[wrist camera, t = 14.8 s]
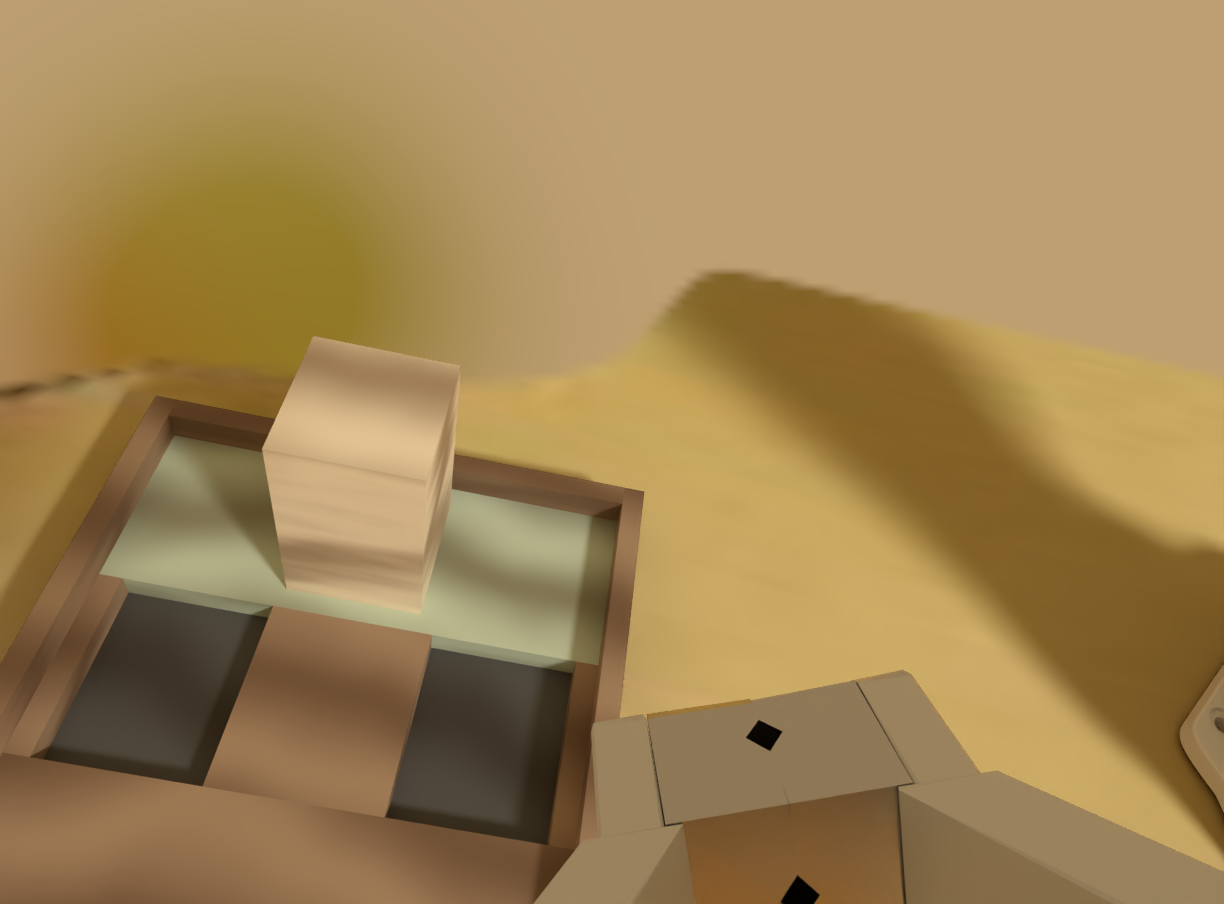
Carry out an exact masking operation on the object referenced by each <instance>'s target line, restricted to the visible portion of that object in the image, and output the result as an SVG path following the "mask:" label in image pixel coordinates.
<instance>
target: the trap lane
mask: <svg viewBox="0 0 1224 904" xmlns="http://www.w3.org/2000/svg"><path fill="white" fill-rule="evenodd" d="M274 422H275V419H272V418H266V417H261V416H256V415H251V414H246V413H241V412H236V411H231V410H226V409H221V408H215V407H210V406H205V405H200V404H195V403H190V402H185V401H180V400H175V399H170V398H164V397H159V396H156V397H155V398H154V400H153V402H152V404H151V405H150V407H149V409H148V411H147V412H146V414H145V416H144V417H143V419H142V421H141V423H140V424H139V426H138V428H137V430H136V431H135V433H134V435H133V436H132V438H131V440H130V442H129V443H128V445H127V447H126V449H125V450H124V452H123V454H122V455H121V457H120V459H119V461H118V462H117V464H116V466H115V468H114V469H113V471H112V473H111V474H110V476H109V478H108V480H107V481H106V483H105V485H104V487H103V488H102V490H101V492H100V493H99V495H98V497H97V499H96V500H95V502H94V504H93V506H92V507H91V509H90V511H89V512H88V514H87V516H86V518H85V519H84V521H83V523H82V525H81V526H80V528H79V530H78V532H77V533H76V535H75V537H74V538H73V540H72V542H71V544H70V545H69V547H68V549H67V551H66V552H65V554H64V556H63V557H62V559H61V561H60V563H59V564H58V566H57V568H56V570H55V571H54V573H53V575H52V576H51V578H50V580H49V582H48V583H47V585H46V587H45V589H44V590H43V592H42V594H41V595H40V597H39V599H38V601H37V602H36V604H35V606H34V608H33V609H32V611H31V613H30V614H29V616H28V618H27V620H26V621H25V623H24V625H23V627H22V628H21V630H20V632H19V633H18V635H17V637H16V639H15V640H14V642H13V644H12V646H11V647H10V649H9V651H8V652H7V654H6V656H5V658H4V659H3V661H2V663H1V665H0V904H534V902H535V901H536V900H537V898H538V897H539V896H540V895H541V893H542V892H543V891H544V889H545V888H546V887H547V886H548V884H549V883H550V882H551V880H552V879H553V878H554V876H555V875H556V874H557V873H558V871H559V870H560V869H561V867H562V866H563V865H564V864H565V862H566V861H567V860H568V858H569V857H570V856H571V855H572V853H573V852H574V851H575V849H576V848H577V847H578V846H579V844H580V843H581V842H582V841H585V840H590V839H596V838H598V832H597V816H596V801H595V785H594V770H593V754H592V738H591V730H592V726H593V723H597V722H602V721H608V720H613V719H619V717H620V708H621V699H622V689H623V680H624V671H625V662H626V653H627V644H628V635H629V626H630V616H631V607H632V598H633V589H634V580H635V571H636V562H637V553H638V544H639V534H640V525H641V516H642V507H643V498H644V491H638V490H633V489H628V488H623V487H618V486H613V485H608V484H603V483H598V482H593V481H588V480H582V479H577V478H572V477H567V476H562V475H557V474H552V473H547V472H542V471H537V470H531V469H526V468H521V467H516V466H511V465H506V464H501V463H496V462H491V461H486V460H480V459H475V458H470V457H465V456H460V455H455V454H454V462H453V476H452V489H451V502H450V510H449V513H448V517H447V521H446V524H445V528H444V531H443V535H442V539H441V542H440V546H439V550H438V553H437V557H436V561H435V564H434V568H433V572H432V575H431V579H430V583H429V586H428V590H427V594H426V597H425V601H424V605H423V608H422V612H421V614H417V613H412V612H406V611H401V610H396V609H390V608H385V607H379V606H374V605H369V604H363V603H358V602H352V601H347V600H341V599H336V598H331V597H325V596H320V595H314V594H309V593H304V592H298V591H293V590H287V589H286V583H285V577H284V571H283V566H282V560H281V554H280V549H279V543H278V537H277V531H276V526H275V520H274V514H273V509H272V503H271V497H270V491H269V486H268V480H267V474H266V469H265V463H264V457H263V452H262V448H263V446H264V443H265V441H266V439H267V437H268V435H269V432H270V430H271V428H272V426H273V424H274Z"/></svg>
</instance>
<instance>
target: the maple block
mask: <svg viewBox="0 0 1224 904" xmlns="http://www.w3.org/2000/svg"><path fill="white" fill-rule="evenodd" d="M460 369H461V366H458V365H454V364H449V363H444V362H438V361H434V360H429V359H424V358H419V357H414V356H409V355H404V354H399V353H394V352H390V351H385V350H379V349H375V348H370V347H365V346H359V345H355V344H350V343H345V342H340V341H335V340H330V339H325V338H320V337H316V336H313V338H312V340H311V343H310V345H309V347H308V349H307V351H306V354H305V356H304V358H303V360H302V362H301V365H300V367H299V369H298V371H297V373H296V376H295V378H294V380H293V382H292V384H291V386H290V389H289V391H288V393H287V395H286V397H285V400H284V402H283V404H282V406H281V408H280V411H279V413H278V415H277V417H276V419H275V422H274V424H273V426H272V428H271V430H270V432H269V435H268V437H267V439H266V441H265V443H264V446H263V448H262V452H263V457H264V463H265V469H266V474H267V480H268V486H269V491H270V497H271V503H272V509H273V514H274V520H275V526H276V531H277V537H278V543H279V549H280V554H281V560H282V566H283V571H284V577H285V583H286V589H287V590H293V591H298V592H304V593H309V594H314V595H320V596H325V597H331V598H336V599H341V600H347V601H352V602H358V603H363V604H369V605H374V606H379V607H385V608H390V609H396V610H401V611H406V612H412V613H417V614H421V612H422V608H423V605H424V601H425V597H426V594H427V590H428V586H429V583H430V579H431V575H432V572H433V568H434V564H435V561H436V557H437V553H438V550H439V546H440V542H441V539H442V535H443V531H444V528H445V524H446V521H447V517H448V513H449V510H450V502H451V489H452V476H453V462H454V449H455V436H456V422H457V409H458V395H459V382H460Z"/></svg>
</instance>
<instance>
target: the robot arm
mask: <svg viewBox="0 0 1224 904" xmlns="http://www.w3.org/2000/svg"><path fill="white" fill-rule="evenodd" d="M647 721H648V727H647ZM647 721H646V718H645V717H644V715H643V714H642V715H636V716H630V717H625V718H619V719H613V720H608V721H602V722H597V723H593V726H592V730H591V738H592V754H593V770H594V785H595V801H596V816H597V832H598V838H596V839H590V840H585V841H582V842H581V843H580V844H579V846H578V847H577V848H576V849H575V851H574V852H573V853H572V855H571V856H570V857H569V858H568V860H567V861H566V862H565V864H564V865H563V866H562V867H561V869H560V870H559V871H558V873H557V874H556V875H555V876H554V878H553V879H552V880H551V882H550V883H549V884H548V886H547V887H546V888H545V889H544V891H543V892H542V893H541V895H540V896H539V897H538V898H537V900H536V901H535V902H534V904H1224V872H1223V871H1221V870H1218V869H1216V868H1214V867H1212V866H1209V865H1207V864H1205V863H1203V862H1200V861H1198V860H1196V859H1194V858H1191V857H1189V856H1187V855H1185V854H1182V853H1180V852H1178V851H1176V850H1174V849H1171V848H1169V847H1167V846H1165V845H1162V844H1160V843H1158V842H1156V841H1153V840H1151V839H1149V838H1147V837H1144V836H1142V835H1140V834H1138V833H1135V832H1133V831H1131V830H1129V829H1127V828H1124V827H1122V826H1120V825H1118V824H1115V823H1113V822H1111V821H1109V820H1106V819H1104V818H1102V817H1100V816H1097V815H1095V814H1093V813H1091V812H1088V811H1086V810H1084V809H1082V808H1080V807H1077V806H1075V805H1073V804H1071V803H1068V802H1066V801H1064V800H1062V799H1059V798H1057V797H1055V796H1053V795H1050V794H1048V793H1046V792H1044V791H1041V790H1039V789H1037V788H1035V787H1032V786H1030V785H1028V784H1026V783H1024V782H1021V781H1019V780H1017V779H1015V778H1012V777H1010V776H1008V775H1006V774H1003V773H1001V772H999V771H992V772H986V773H980V771H979V770H978V769H977V767H976V766H975V764H974V763H973V761H972V760H971V759H970V757H969V756H968V754H967V753H966V751H965V750H964V749H963V747H962V746H961V744H960V743H959V741H958V740H957V739H956V737H955V736H954V734H953V733H952V732H951V730H950V729H949V727H948V726H947V724H946V723H945V722H944V720H943V719H942V717H941V716H940V714H939V713H938V712H937V710H936V709H935V707H934V706H933V704H932V703H931V702H930V700H929V699H928V697H927V696H926V695H925V693H924V692H923V690H922V689H921V687H920V686H919V685H918V683H917V682H916V680H915V679H914V677H913V676H912V675H911V674H910V673H908V672H906V671H904V670H900V671H896V672H891V673H886V674H881V675H876V676H871V677H866V678H862V679H857V680H852V681H850V682H845V683H840V684H834V685H829V686H824V687H819V688H813V689H808V690H803V691H798V692H793V693H787V694H782V695H777V696H772V697H766V698H761V699H756V700H750V699H746V700H740V701H733V702H726V703H719V704H712V705H706V706H699V707H692V708H685V709H678V710H672V711H665V712H658V713H651V714H647ZM1215 725H1216V726H1217V727H1218V728H1219V729H1220V731H1219V730H1218V729H1217V727H1216V726H1215ZM648 728H649V733H648ZM649 734H650V738H649ZM650 740H651V744H650ZM1180 741H1181V743H1182V746H1183V748H1184V750H1185V752H1186V754H1187V755H1188V757H1189V759H1190V760H1191V762H1192V763H1193V765H1194V766H1195V768H1196V769H1197V770H1198V772H1199V773H1200V775H1201V776H1202V777H1203V779H1204V780H1205V782H1206V783H1207V784H1208V786H1209V787H1210V788H1211V790H1212V791H1213V792H1214V794H1215V795H1216V797H1217V799H1218V801H1219V803H1220V806H1221V808H1222V810H1223V813H1224V664H1223V666H1222V667H1221V669H1220V670H1219V672H1218V673H1217V675H1216V676H1215V678H1214V679H1213V680H1212V682H1211V683H1210V685H1209V686H1208V688H1207V689H1206V691H1205V692H1204V694H1203V695H1202V697H1201V698H1200V700H1199V701H1198V702H1197V704H1196V705H1195V707H1194V708H1193V710H1192V711H1191V713H1190V714H1189V716H1188V717H1187V719H1186V720H1185V721H1184V723H1183V725H1182V726H1181V729H1180ZM651 747H652V750H651ZM652 753H653V756H652ZM653 759H654V762H653ZM654 765H655V767H654ZM655 771H656V773H655ZM656 777H657V779H656ZM657 783H658V785H657ZM658 789H659V791H658Z"/></svg>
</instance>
